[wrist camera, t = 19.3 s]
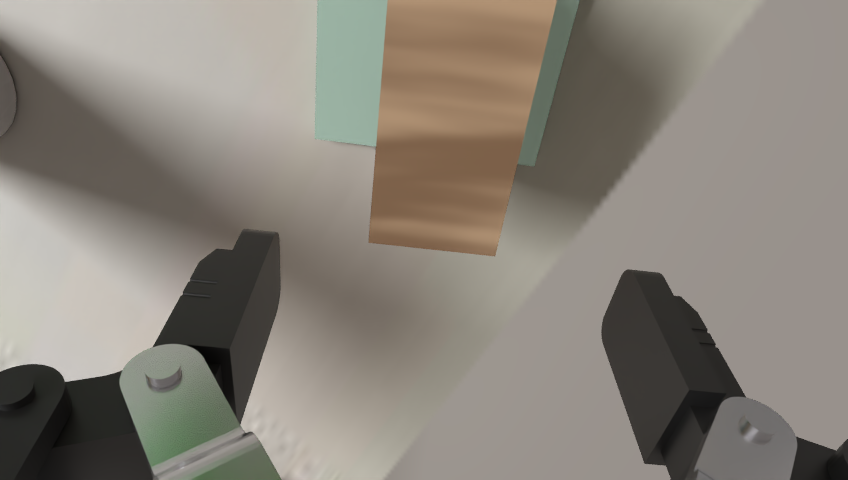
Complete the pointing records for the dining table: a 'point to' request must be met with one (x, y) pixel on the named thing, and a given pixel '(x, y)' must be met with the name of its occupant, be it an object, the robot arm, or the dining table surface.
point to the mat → (362, 71)
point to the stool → (453, 119)
